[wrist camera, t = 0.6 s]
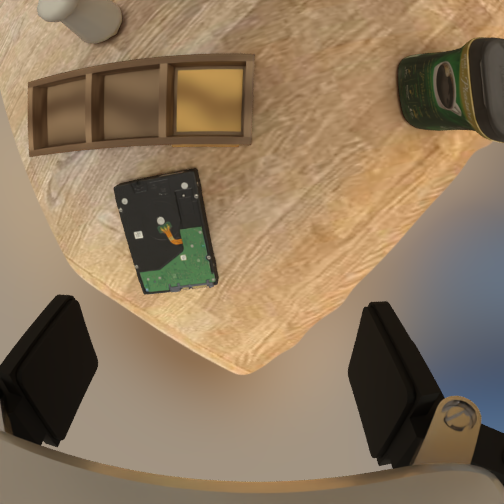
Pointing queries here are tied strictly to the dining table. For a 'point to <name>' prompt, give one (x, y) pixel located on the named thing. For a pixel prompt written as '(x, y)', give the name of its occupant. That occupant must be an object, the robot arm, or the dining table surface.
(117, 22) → the salt shaker
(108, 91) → the wooden compartment tray
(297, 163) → the dining table surface
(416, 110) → the coffee jar
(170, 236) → the disk drive
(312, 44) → the dining table surface
